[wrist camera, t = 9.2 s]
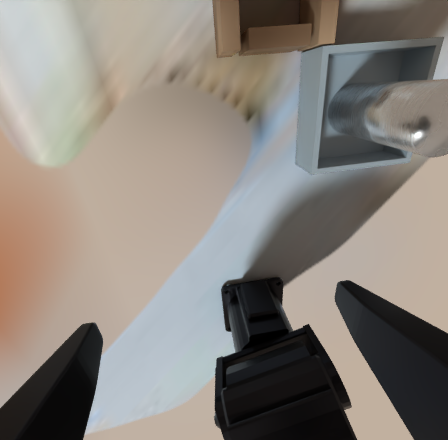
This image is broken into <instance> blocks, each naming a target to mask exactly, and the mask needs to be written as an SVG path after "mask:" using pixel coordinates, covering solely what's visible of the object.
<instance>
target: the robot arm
mask: <svg viewBox="0 0 448 440" xmlns="http://www.w3.org/2000/svg"><path fill="white" fill-rule="evenodd" d="M277 282H278V283H277ZM226 290H228V291H226ZM221 293H222V302H223V311H224V320H225V328H226V331H228V332H230V331H231V332H232V337H233V342H234V347H235V352H236V353H233V354H230V355H228V356H225V357H223V356H222V357H219V358H217V364H216V373H215V378H216V379H215V416H214V420H215V424H216V426H217V427H219V428H220V429H221V432H222V434H223V438H224V440H357V438H356V436H355V434H354V432H353V429H352V427H351V425H350V422H349V420H348V418H347V416H346V413H345V411H344V410H346V409H348V408H351V407H352V406H351V402H350V399H349V396H348V394H347V392H346V389H345V387H344V385H343V382H342V381H341V378H340V376H339V374H338V372H337V371H336V368H335V366H334V365H333V363H332V361H331V359H330V358H329V356H328V354H327V353H326V351H325V349H324V348H323V346H322V345H321V343H320V341H319V340H318V338H317V337H316V335H315V333H314V332H313V330H312V329H311V327H310V325H309V324H308V325H305V326H303V328H300V329H298V330H295V331H293V329H292V327H291V325H290V323H289V321H288V318H287V317H286V314H285V312H284V310H283V308H282V297H283V281H282V279H281V278H279V277H278V278H271V279H265V280H259V281H253V282H246V283H240V284H234V285H228V286H224V287H222V289H221ZM335 302H336V305H337V307H338V309H339V310H340V313H341V315H342V317H343V319H344V321H345V323H346V325H347V327H348V329H349V332H350V334H351V336H352V338H353V340H354V341H355V343H356V345H357V347H358V348H359V350H360V351H361V353H362V355H363V356H364V358H365V360H366V361H367V363H368V365H369V366H370V368H371V370H372V371H373V373H374V374H375V376H376V378H377V379H378V381H379V383H380V384H381V386H382V388H383V389H384V391H385V392H386V394H387V396H388V397H389V399H390V401H391V402H392V404H393V406H394V407H395V409H396V411H397V412H398V414H399V416H400V417H401V419H402V420H403V422H404V424H405V425H406V427H407V429H408V430H409V432H410V433H411V435H412V437H413V438H414V440H448V333H446V332H444V331H442V330H441V329H439V328H437V327H435V326H433V325H431V324H429V323H428V322H426V321H424V320H422V319H420V318H418V317H416V316H415V315H413V314H411V313H409V312H407V311H405V310H404V309H402V308H400V307H398V306H396V305H394V304H392V303H390V302H389V301H387V300H385V299H383V298H381V297H379V296H377V295H375V294H374V293H371V292H370V291H368V290H366V289H364V288H363V287H361V286H359V285H357V284H355V283H353V282H352V281H349V280H346V281H340V282H338V283H337V288H336V293H335ZM102 347H103V338H102V335H101V333H100V331H99V329H98V327H97V325H96V323H86V324H82V325H81V326H80V327H79V328H78V329H77V330H76V331H75V332H74V333H73V334H72V335H71V336H70V337H69V338H68V339H67V340H66V341H65V342H64V343H63V344H62V346H60V347H59V348H58V349H57V351H55V353H54V354H53V355H52V356H51V357H50V358H49V359H48V360H47V361H46V362H45V363H44V364H43V365H42V366H41V367H40V368H39V369H38V370H37V371H36V372H35V373H34V374H33V375H32V376H31V377H30V378H29V379H28V380H27V381H26V382H25V383H24V384H23V385H22V386H21V387H20V389H19V390H18V391H17V392H16V393H15V394H14V395H13V396H12V397H11V398H10V399H9V400H8V401H7V402H6V403H5V404H4V405H3V406H2V407H1V408H0V440H83V438H84V434H85V430H86V426H87V422H88V418H89V415H90V411H91V407H92V403H93V399H94V395H95V391H96V385H97V379H98V373H99V366H100V360H101V353H102Z"/></svg>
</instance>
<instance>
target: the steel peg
mask: <svg viewBox="0 0 448 440" xmlns="http://www.w3.org/2000/svg"><path fill="white" fill-rule="evenodd" d="M328 120H329V123H330V125H331V127H332V128H333V129H334V130H335V131H336V132H339V133H342V134H346V135H349V136H353V137H357V138H361V139H364V140H368V141H372V142H375V143H379V144H383V145H386V146H390V147H394V148H397V149H401V150H405V151H408V152H412V153H416V154H419V155H423V156H427V157H439V156H443V155H446V154H448V79H441V80H417V81H394V82H370V83H352V84H348V85H346V86H344V87H343V88H341V89H340V90H339V91H338V92H337V93H336V94H335V95H334V97H333V99H332V100H331V103H330V105H329V109H328Z"/></svg>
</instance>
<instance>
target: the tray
mask: <svg viewBox="0 0 448 440" xmlns="http://www.w3.org/2000/svg"><path fill="white" fill-rule="evenodd" d="M443 40H444V37H435V38H422V39H409V40H396V41H383V42H370V43H356V44H343V45H330V46H322V47H319V48H315V49H312V50H309V51H306V52H303V53H302V56H301V74H300V91H299V109H298V126H297V144H296V161H295V164H296V165H297V166H299V167H300V168H302V169H303V170H305V171H306V172H308V173H309V174H311V175H314V174H322V173H330V172H338V171H346V170H354V169H362V168H370V167H378V166H386V165H394V164H402V163H410V160H411V156H412V152H408V151H405V150H401V149H397V148H394V147H390V146H386V145H383V144H379V143H375V142H372V141H368V140H364V139H361V138H357V137H353V136H349V135H346V134H342V133H339V132H336V131H335V130H334V129H333V128H332V127H331V125H330V123H329V120H328V109H329V105H330V103H331V100H332V99H333V97H334V95H335V94H336V93H337V92H338V91H339V90H340V89H341V88H343V87H344V86H346V85H348V84H352V83H370V82H394V81H417V80H433V76H434V72H435V69H436V65H437V61H438V58H439V54H440V50H441V47H442V43H443Z"/></svg>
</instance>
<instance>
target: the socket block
mask: <svg viewBox="0 0 448 440" xmlns="http://www.w3.org/2000/svg"><path fill="white" fill-rule="evenodd" d="M212 1H213V14H214V27H215V40H216V53H217V58H219V57H232V56H233V55H235V54H236V53H237V52H239V56H245V55H258V54H271V53H283V52H292V51H295V50H297V49H298V51H309V50H312V49H315V48H319V47H322V46H327V45H330V44H333V43H335V35H336V26H337V17H338V7H339V0H300V14H299V24H296V25H281V26H266V27H252V28H248V29H247V30H246V31H245V32H244V33H243V34H242V35H241V36H240V20H239V0H212Z"/></svg>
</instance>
